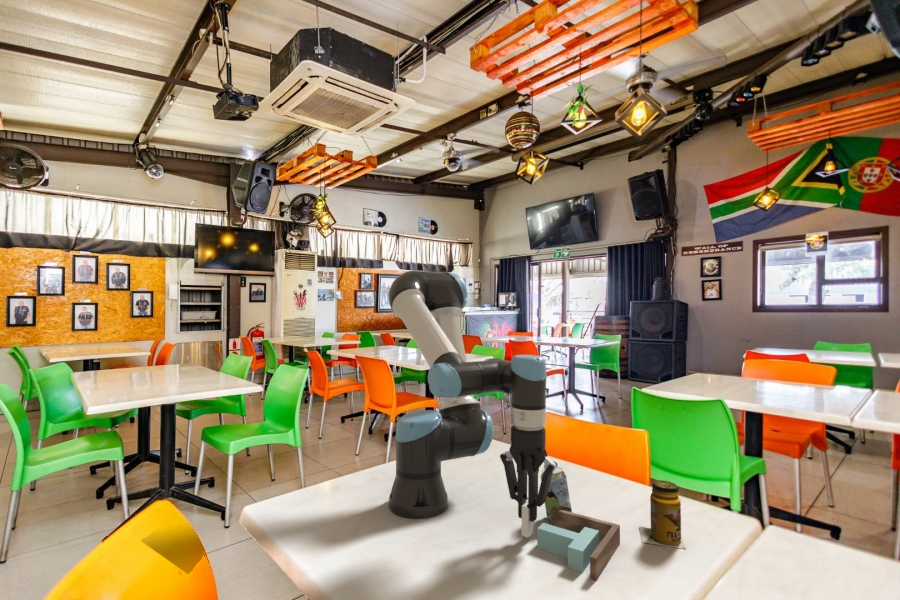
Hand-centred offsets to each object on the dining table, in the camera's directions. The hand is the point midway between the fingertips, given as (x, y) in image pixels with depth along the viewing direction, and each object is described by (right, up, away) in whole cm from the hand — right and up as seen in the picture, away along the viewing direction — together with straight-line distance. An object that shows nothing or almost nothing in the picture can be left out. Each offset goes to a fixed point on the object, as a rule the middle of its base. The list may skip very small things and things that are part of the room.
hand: (527, 534), depth 98 cm
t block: (+7, -1, -5) cm, 9 cm away
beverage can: (+9, -2, +10) cm, 13 cm away
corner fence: (+9, -1, -4) cm, 10 cm away
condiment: (+30, -2, +1) cm, 30 cm away
